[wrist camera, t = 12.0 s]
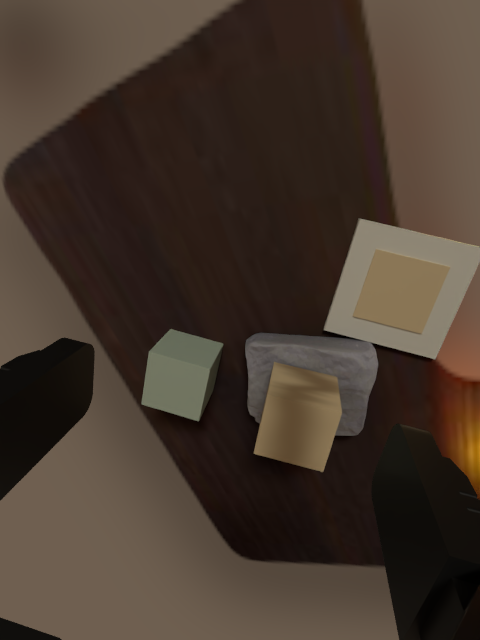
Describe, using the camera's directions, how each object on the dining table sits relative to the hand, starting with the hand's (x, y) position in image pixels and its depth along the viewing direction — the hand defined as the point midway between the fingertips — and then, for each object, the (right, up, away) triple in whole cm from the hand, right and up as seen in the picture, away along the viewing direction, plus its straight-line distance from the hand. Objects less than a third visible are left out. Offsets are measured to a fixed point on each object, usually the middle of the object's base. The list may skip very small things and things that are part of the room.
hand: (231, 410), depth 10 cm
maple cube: (+5, -4, +24) cm, 25 cm away
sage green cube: (-5, -2, +28) cm, 29 cm away
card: (+14, +5, +22) cm, 27 cm away
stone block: (+7, -3, +27) cm, 28 cm away
